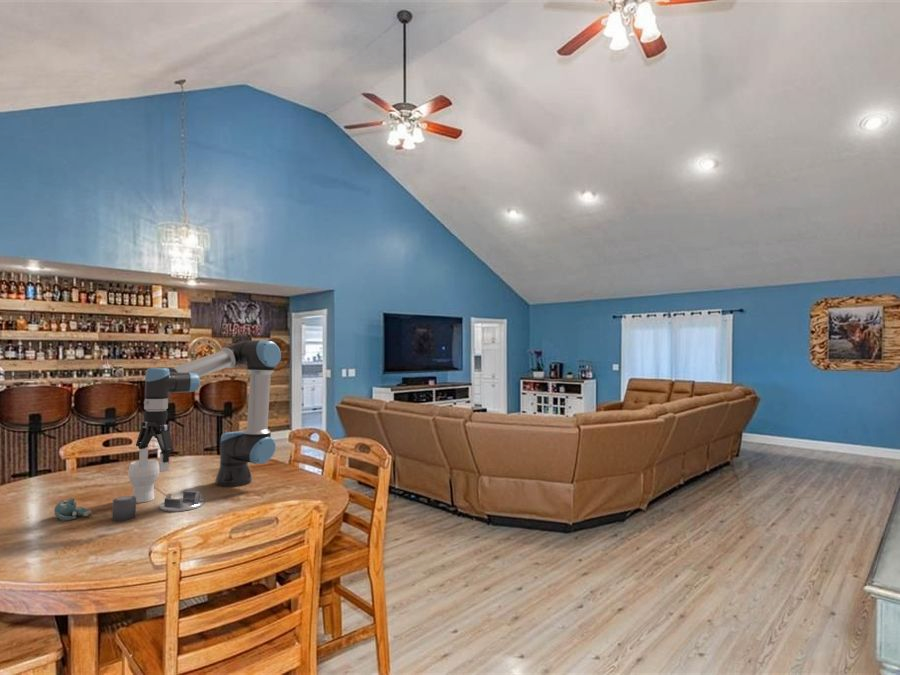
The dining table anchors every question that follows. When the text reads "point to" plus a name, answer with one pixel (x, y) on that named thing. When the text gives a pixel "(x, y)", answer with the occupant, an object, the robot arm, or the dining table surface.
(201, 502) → the grey stand base
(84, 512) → the stuffed animal
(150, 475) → the cup
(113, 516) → the gray cube
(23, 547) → the dining table surface
